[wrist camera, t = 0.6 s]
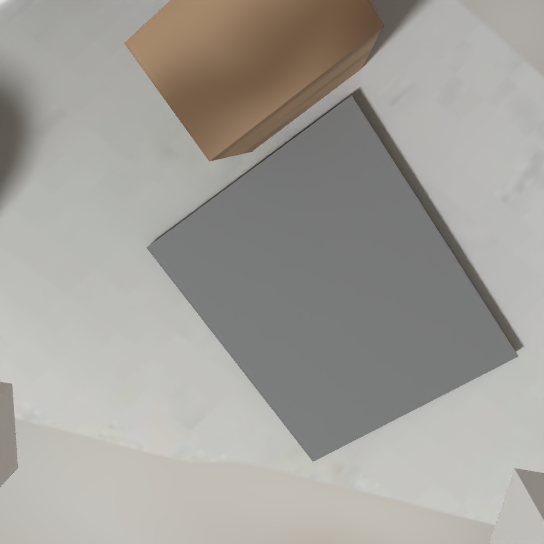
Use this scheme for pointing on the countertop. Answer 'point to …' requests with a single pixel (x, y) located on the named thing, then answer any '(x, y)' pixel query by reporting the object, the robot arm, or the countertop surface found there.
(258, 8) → the walnut block
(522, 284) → the countertop surface
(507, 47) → the countertop surface
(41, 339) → the countertop surface
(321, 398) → the mat
